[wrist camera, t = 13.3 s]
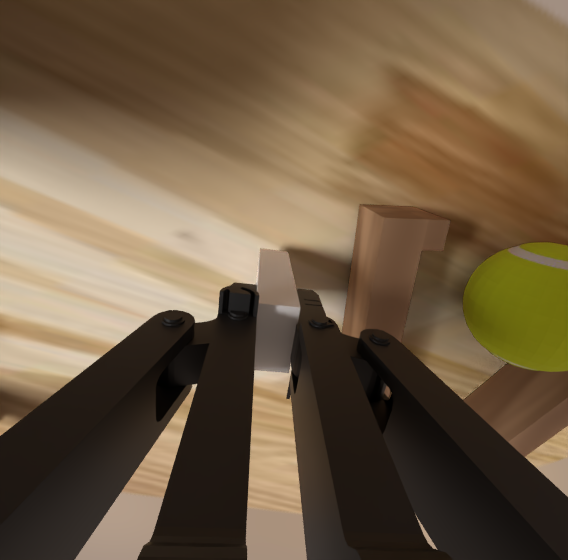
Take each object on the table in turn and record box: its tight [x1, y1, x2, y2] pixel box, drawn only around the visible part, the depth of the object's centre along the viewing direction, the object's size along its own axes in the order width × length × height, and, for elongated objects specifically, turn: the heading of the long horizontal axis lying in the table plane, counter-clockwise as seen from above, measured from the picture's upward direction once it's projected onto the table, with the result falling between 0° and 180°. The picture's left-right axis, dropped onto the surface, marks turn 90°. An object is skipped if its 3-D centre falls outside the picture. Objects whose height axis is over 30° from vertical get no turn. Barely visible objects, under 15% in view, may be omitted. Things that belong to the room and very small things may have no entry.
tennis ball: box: [463, 242, 568, 372], centre depth 16 cm, size 7×7×7 cm
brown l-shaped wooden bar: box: [463, 363, 568, 457], centre depth 20 cm, size 6×16×4 cm, turn 142°
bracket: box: [342, 204, 451, 398], centre depth 18 cm, size 4×16×4 cm, turn 177°
